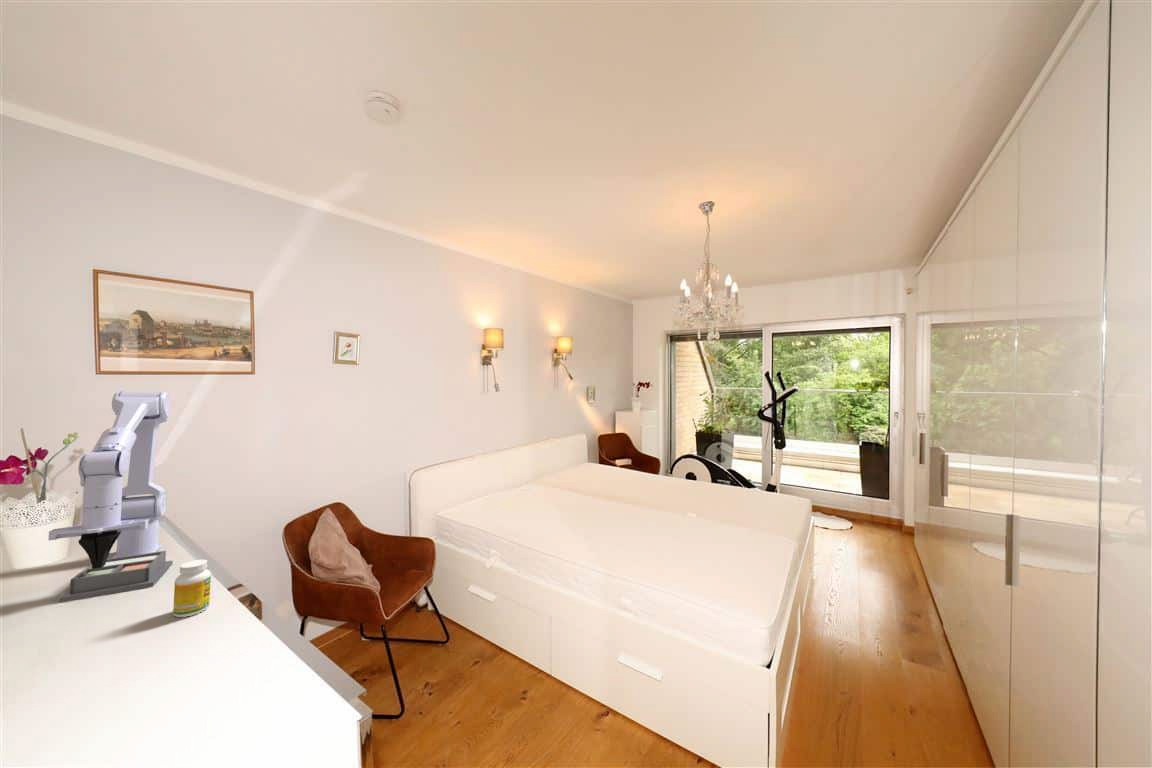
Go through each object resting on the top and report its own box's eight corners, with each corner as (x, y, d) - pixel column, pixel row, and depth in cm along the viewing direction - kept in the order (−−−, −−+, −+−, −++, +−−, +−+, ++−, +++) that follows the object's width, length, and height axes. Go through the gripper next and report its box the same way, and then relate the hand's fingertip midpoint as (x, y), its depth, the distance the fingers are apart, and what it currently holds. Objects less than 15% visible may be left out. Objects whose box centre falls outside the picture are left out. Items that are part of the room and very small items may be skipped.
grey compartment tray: (90, 576, 96) (91, 559, 96) (172, 564, 103) (173, 548, 103) (58, 602, 84) (59, 583, 84) (153, 586, 91) (154, 568, 91)
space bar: (100, 569, 95) (101, 563, 95) (157, 561, 100) (158, 555, 100) (92, 576, 92) (93, 569, 92) (152, 567, 97) (152, 560, 97)
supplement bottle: (174, 609, 82) (177, 562, 82) (210, 601, 85) (212, 555, 85) (171, 621, 78) (173, 571, 78) (208, 612, 81) (210, 564, 81)
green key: (89, 578, 90) (89, 572, 90) (115, 574, 92) (115, 568, 92) (80, 586, 87) (80, 578, 87) (107, 581, 89) (107, 574, 89)
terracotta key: (125, 573, 93) (125, 566, 93) (149, 569, 95) (150, 563, 95) (118, 580, 90) (118, 573, 90) (143, 576, 92) (143, 569, 92)
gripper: (41, 514, 83) (37, 581, 82) (141, 505, 91) (138, 566, 90) (60, 506, 89) (56, 568, 88) (152, 498, 97) (149, 555, 96)
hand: (99, 566), depth 90 cm, fingers closed
